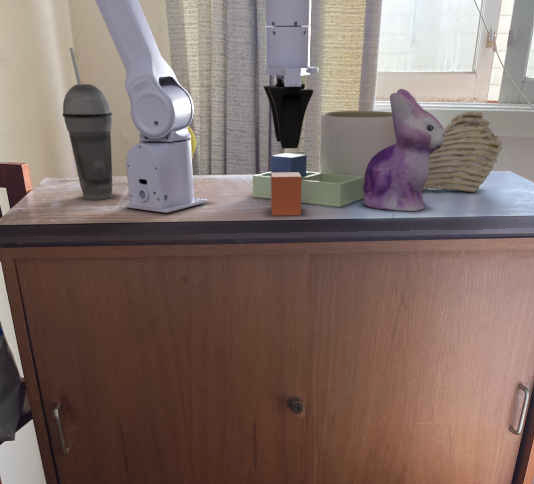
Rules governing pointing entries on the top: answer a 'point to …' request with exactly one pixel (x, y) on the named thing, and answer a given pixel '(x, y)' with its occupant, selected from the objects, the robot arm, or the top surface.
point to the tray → (318, 188)
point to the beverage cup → (90, 137)
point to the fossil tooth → (464, 154)
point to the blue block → (289, 163)
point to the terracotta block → (286, 193)
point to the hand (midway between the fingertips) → (286, 144)
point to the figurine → (403, 158)
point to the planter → (353, 140)
